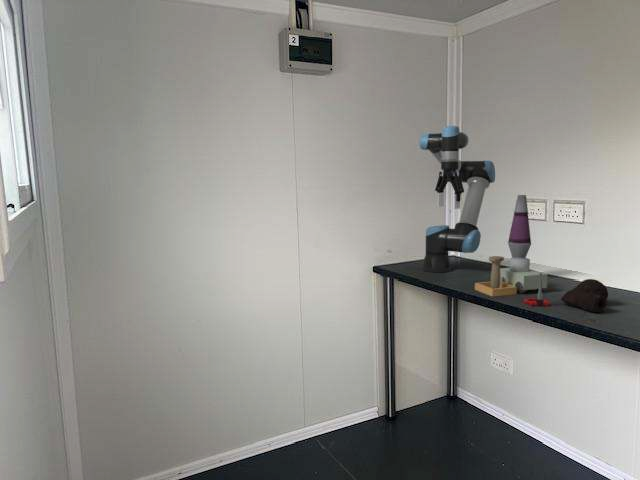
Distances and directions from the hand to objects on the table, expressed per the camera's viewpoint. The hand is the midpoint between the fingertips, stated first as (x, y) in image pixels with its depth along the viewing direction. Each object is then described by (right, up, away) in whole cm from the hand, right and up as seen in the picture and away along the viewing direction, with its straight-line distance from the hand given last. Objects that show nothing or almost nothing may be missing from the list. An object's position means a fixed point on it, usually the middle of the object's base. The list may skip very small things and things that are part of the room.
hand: (448, 207), depth 214 cm
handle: (+16, -37, -16) cm, 43 cm away
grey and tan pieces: (+22, -37, -14) cm, 45 cm away
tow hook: (+25, -40, -33) cm, 58 cm away
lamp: (+35, -34, +6) cm, 49 cm away
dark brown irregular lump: (+42, -41, -38) cm, 70 cm away
